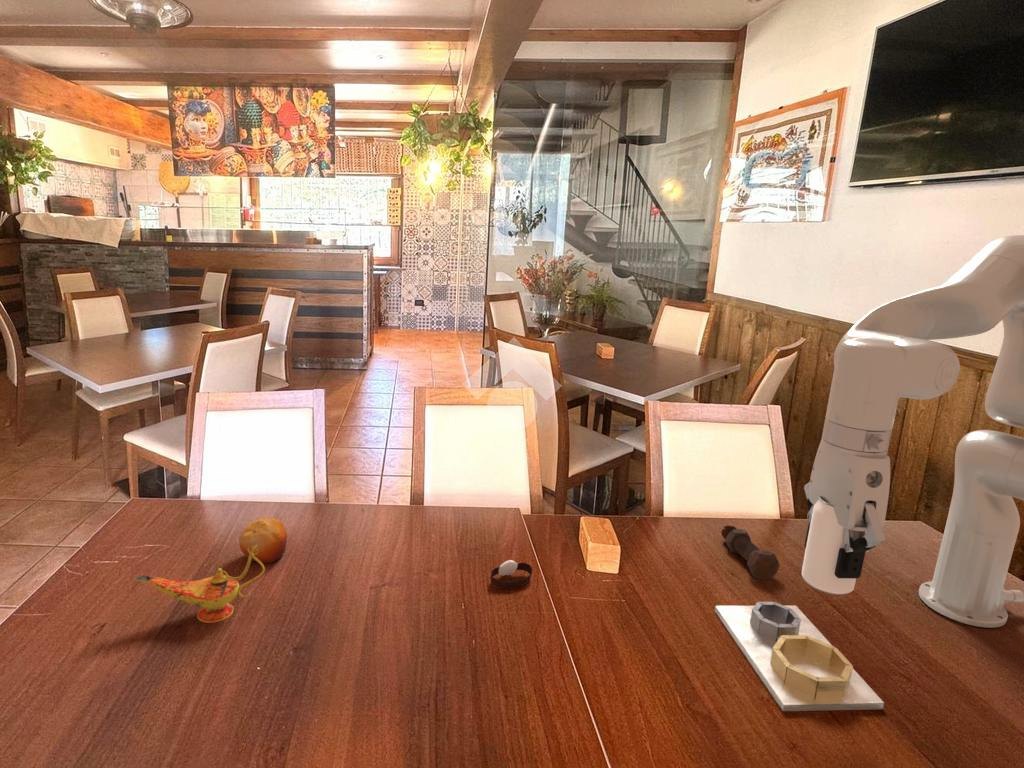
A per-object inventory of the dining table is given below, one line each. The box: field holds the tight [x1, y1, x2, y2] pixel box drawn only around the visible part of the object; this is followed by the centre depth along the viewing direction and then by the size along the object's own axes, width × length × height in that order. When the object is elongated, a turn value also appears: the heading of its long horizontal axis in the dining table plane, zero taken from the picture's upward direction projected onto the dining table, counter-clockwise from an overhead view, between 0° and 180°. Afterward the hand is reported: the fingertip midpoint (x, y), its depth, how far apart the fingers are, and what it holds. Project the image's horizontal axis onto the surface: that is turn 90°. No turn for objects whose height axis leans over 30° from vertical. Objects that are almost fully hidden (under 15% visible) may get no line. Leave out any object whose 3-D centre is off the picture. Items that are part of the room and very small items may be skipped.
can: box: [801, 496, 863, 596], centre depth 82 cm, size 6×6×12 cm
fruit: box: [238, 517, 288, 564], centre depth 111 cm, size 8×8×8 cm
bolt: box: [721, 525, 781, 580], centre depth 120 cm, size 6×5×15 cm
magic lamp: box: [134, 545, 266, 624], centre depth 93 cm, size 7×18×11 cm, turn 103°
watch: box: [490, 559, 533, 589], centre depth 107 cm, size 8×5×4 cm, turn 116°
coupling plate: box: [714, 601, 885, 712], centre depth 92 cm, size 14×22×4 cm, turn 5°
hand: (830, 561), depth 83 cm, fingers closed on can, 6 cm apart
